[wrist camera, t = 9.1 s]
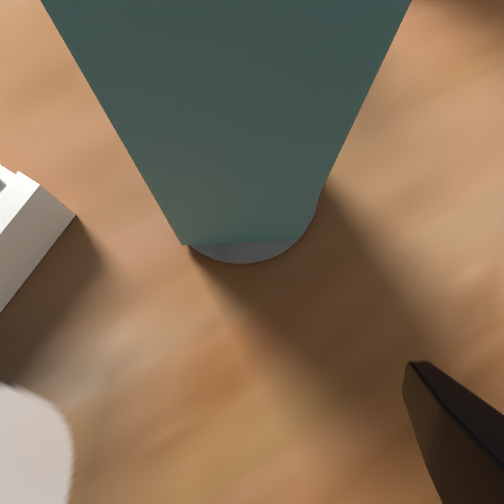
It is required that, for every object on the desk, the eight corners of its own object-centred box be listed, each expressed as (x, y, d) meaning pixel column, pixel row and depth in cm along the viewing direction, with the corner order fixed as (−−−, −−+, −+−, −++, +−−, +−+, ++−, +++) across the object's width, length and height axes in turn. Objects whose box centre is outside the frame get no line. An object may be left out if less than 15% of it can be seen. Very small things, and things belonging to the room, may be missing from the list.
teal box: (297, 239, 19) (441, -63, 5) (182, 245, 19) (10, -52, 5) (289, 134, 20) (389, -345, 6) (180, 138, 20) (36, -341, 6)
